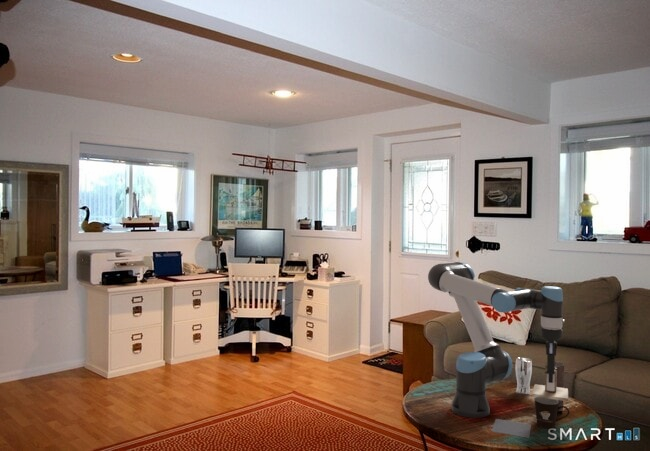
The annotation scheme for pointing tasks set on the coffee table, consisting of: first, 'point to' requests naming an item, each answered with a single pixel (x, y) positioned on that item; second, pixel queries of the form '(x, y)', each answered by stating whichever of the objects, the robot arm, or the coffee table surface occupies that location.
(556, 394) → the cover
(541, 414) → the coffee mug
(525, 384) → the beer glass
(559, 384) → the dark brown log
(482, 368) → the robot arm
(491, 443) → the coffee table surface
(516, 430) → the mat
